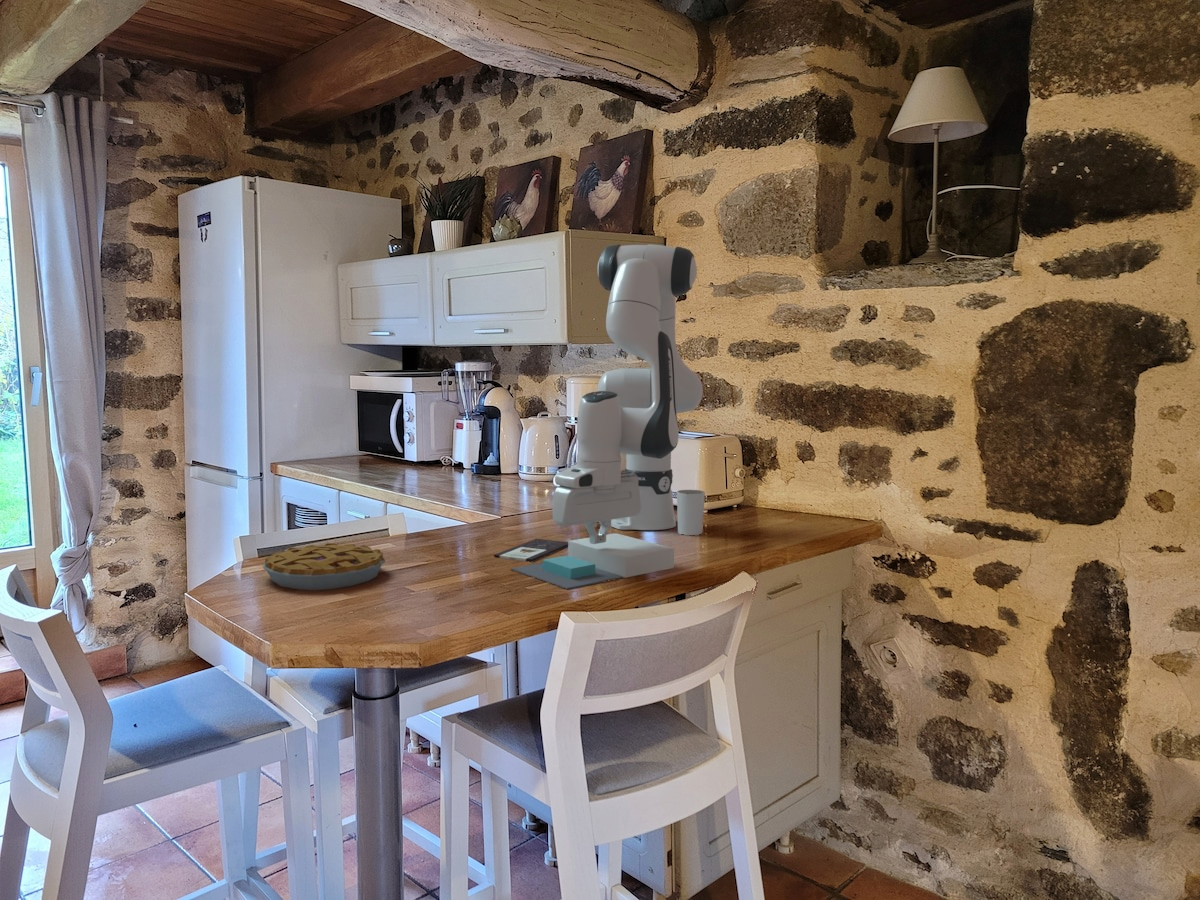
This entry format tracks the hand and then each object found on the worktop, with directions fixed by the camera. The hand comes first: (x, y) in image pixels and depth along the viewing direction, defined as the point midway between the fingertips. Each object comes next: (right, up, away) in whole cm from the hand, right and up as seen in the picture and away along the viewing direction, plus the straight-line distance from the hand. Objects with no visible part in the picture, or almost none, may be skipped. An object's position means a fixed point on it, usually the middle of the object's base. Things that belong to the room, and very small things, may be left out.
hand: (597, 542), depth 175 cm
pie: (-52, -6, -8) cm, 53 cm away
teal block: (-6, -3, -4) cm, 8 cm away
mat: (-6, -6, -4) cm, 9 cm away
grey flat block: (+5, -5, +4) cm, 8 cm away
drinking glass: (+22, -2, +36) cm, 42 cm away
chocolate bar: (-14, -4, +15) cm, 21 cm away
